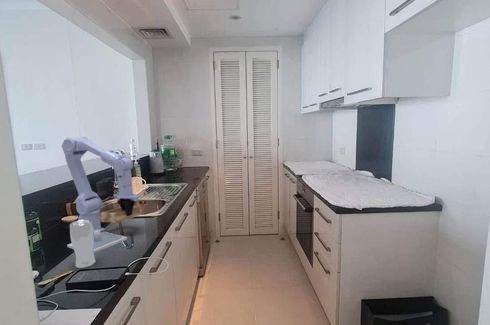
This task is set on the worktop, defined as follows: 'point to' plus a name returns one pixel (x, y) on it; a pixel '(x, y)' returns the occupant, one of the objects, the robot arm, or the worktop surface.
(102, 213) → the wood collar
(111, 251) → the worktop surface
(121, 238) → the post stand
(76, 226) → the beer glass
